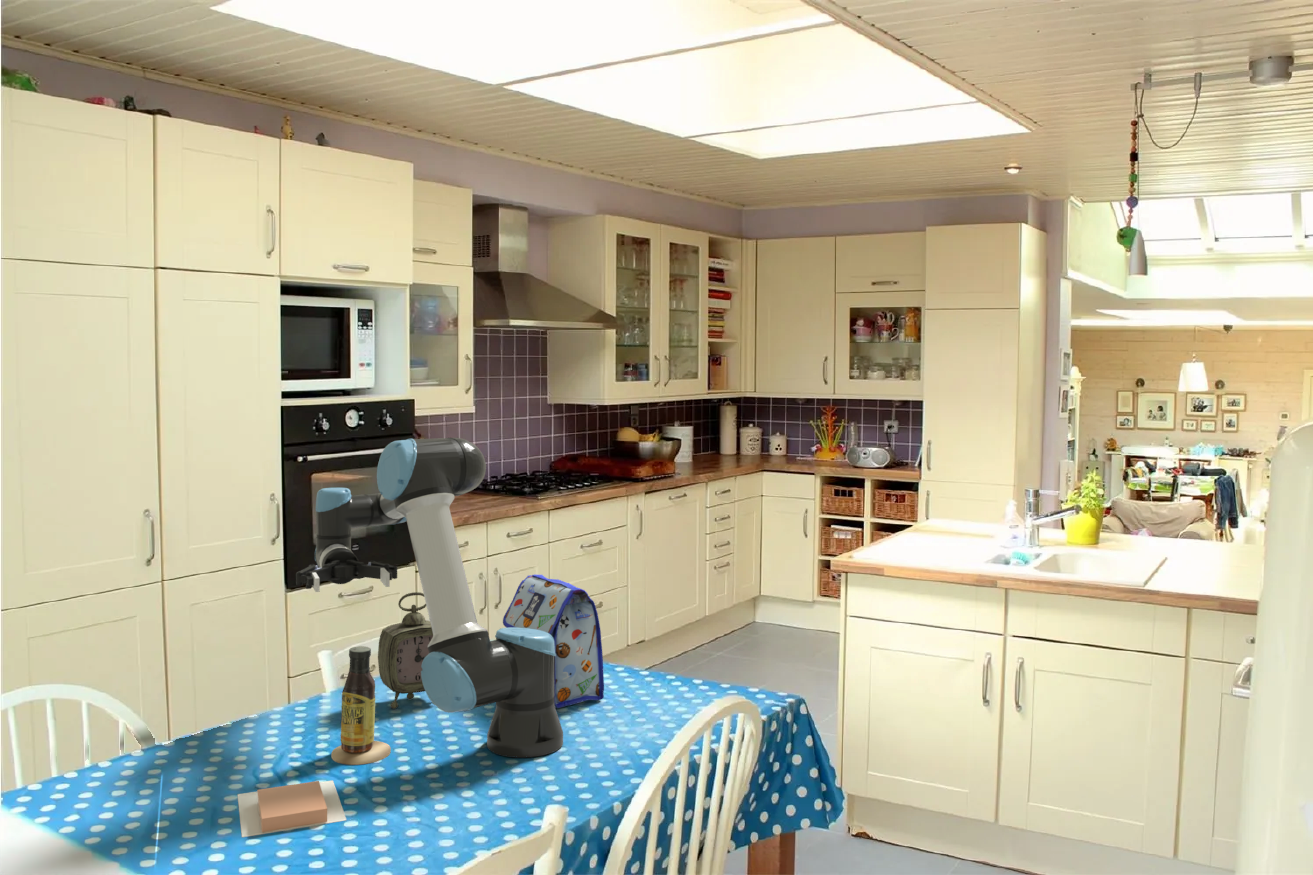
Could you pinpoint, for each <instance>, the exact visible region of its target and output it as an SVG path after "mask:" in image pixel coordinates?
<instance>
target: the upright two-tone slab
mask: <svg viewBox="0 0 1313 875" xmlns="http://www.w3.org/2000/svg"><path fill="white" fill-rule="evenodd" d="M319 782H320V781H319V780H315V781H309V782H300V783H295V784H288V785H287V784H286V785H282V786H274V787H268V788H260V789H256V790H257V791H256V792H257V800H258V809H259V816H260V822H261V829H262V832H263V833H264V832H271V831H277V830H283V829H289V828H295V827H301V826H307V825H314V824H320V823H326V822H327V806H326V803H325V800H324V796H323V793H322V790H321V787H320V783H319Z"/></svg>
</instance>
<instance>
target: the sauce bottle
mask: <svg viewBox="0 0 1313 875" xmlns="http://www.w3.org/2000/svg"><path fill="white" fill-rule="evenodd" d="M371 655H372V648H371V647H368V646H362V645H360V646H353V647H350V649H349V652H348V656H349V668H348V669H349V670H348V673H347V676H346V680H345V682H344V686H343V689H342V691H341V713H340V714H341V716H340V719H341V720H340V722H341V723H340V744H341V745H340V746H341V748H342V750H343V751H345V752H348V753H362V752H365V751H368V750H370V749H371V748H372V746H373V741H375V724H376V723H375V721H376V720H375V719H376V717H375V716H376V715H375V714H376V712H375V711H376V681H375V679H374V677H373V676H372V674H371V667H370V660H371Z"/></svg>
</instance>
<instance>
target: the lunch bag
mask: <svg viewBox="0 0 1313 875" xmlns="http://www.w3.org/2000/svg"><path fill="white" fill-rule="evenodd" d="M595 603H596V602H595V601H594V600H593V599H592V598H591V597H590V596H589V594H588V592H587V591H586V590H585V589H582V588H579V587H576V586H575V585H573V584H571V583H570V582H566V581H563V580H561V579H558V578H557V579H553V578H547V577H546V576H545V575H543V574H532V575H529V574H528V575H527V576H526V577H525V578H524V579H523V580H521V582H520V584H519V585H518V586H517V589H516V591H515V593H514V596H513V598H512V600H511V603H510V604H509V606H508V608H507V610H506V612H505V614H504V615H503V618H502V624H503V626H504V628H509V627H517V628H529V629H536V630H541V631H544V632H547V633H549V634H550V635H551V636H552V637H553V639H554V646H555V654H556V656H555V708H556V709H559V708H564V707H568V706H571V705H572V706H573V705H576V704H579V703H582V702H585V701H601V700H603V699H604V695H605V694H604V691H605V679H604V657H603V656H604V655H603V646H602V645H603V644H602V632H601V625H600V620H599V619H600V618H599V615H598V611H597V607H596V606H597V605H596V604H595Z"/></svg>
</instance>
